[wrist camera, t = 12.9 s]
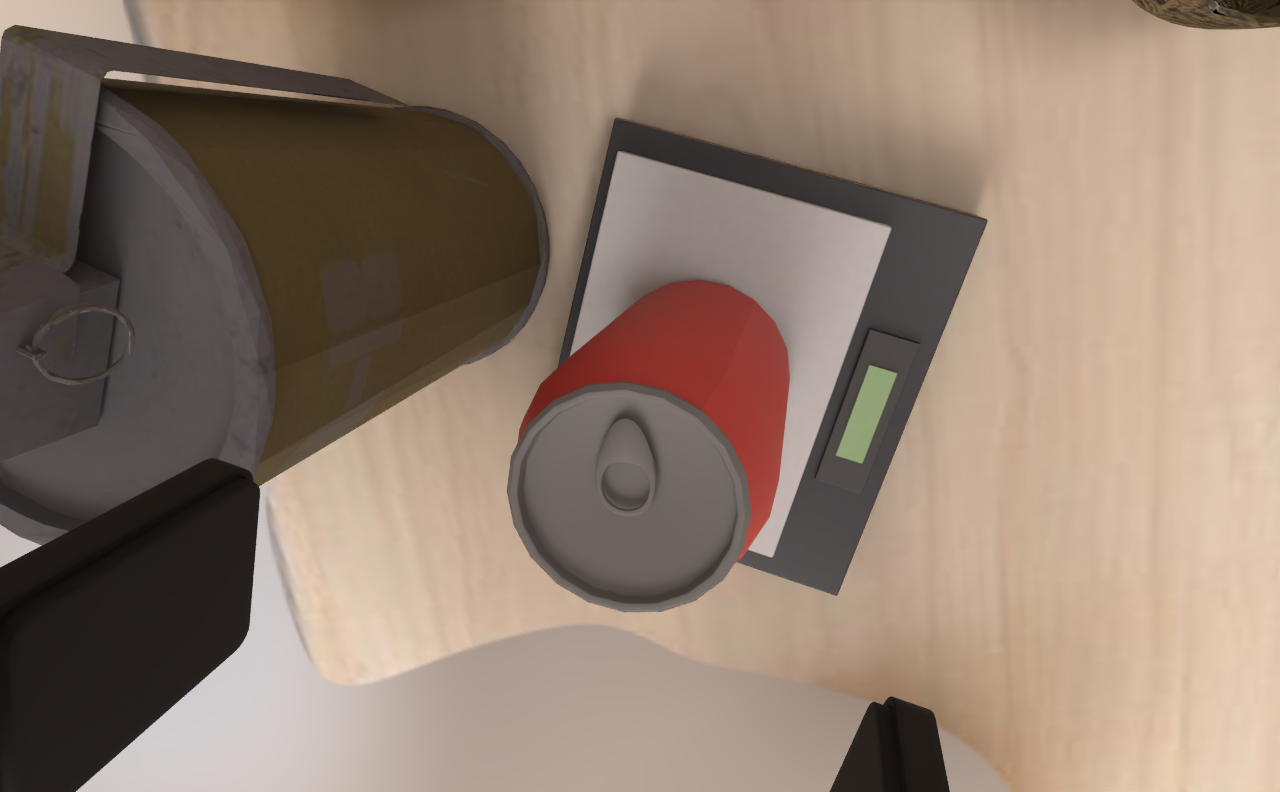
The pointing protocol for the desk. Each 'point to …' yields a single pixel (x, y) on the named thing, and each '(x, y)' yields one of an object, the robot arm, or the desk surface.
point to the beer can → (655, 449)
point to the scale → (789, 309)
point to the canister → (229, 267)
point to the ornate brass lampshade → (1216, 13)
